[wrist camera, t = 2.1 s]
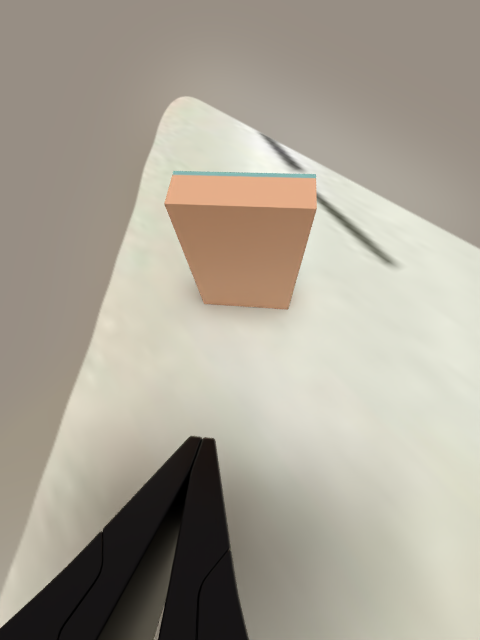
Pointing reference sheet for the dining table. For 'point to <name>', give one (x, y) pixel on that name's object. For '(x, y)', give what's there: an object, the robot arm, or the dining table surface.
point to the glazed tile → (243, 233)
